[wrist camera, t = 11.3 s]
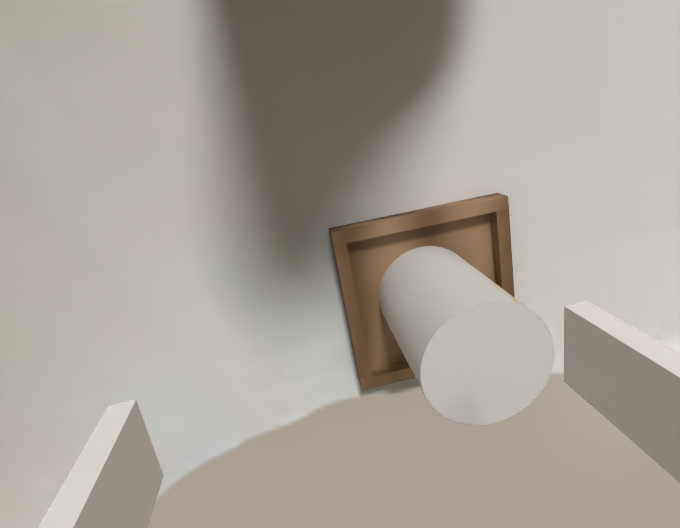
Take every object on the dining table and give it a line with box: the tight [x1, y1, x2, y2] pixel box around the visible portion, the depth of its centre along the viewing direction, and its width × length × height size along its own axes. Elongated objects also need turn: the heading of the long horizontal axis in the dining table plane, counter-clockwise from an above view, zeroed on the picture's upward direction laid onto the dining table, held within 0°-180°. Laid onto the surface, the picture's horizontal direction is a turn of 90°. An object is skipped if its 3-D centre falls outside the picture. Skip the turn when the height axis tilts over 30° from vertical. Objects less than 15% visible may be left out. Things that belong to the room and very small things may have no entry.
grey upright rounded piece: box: [379, 246, 554, 425], centre depth 32 cm, size 8×8×12 cm
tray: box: [329, 193, 514, 390], centre depth 37 cm, size 14×14×2 cm
